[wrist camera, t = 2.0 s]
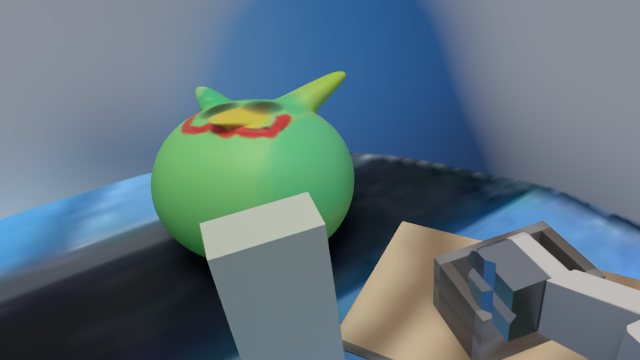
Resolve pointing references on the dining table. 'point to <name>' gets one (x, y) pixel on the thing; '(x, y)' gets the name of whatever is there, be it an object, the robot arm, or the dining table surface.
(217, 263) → the tall grey rectangular block
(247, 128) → the toy bird
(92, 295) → the dining table surface
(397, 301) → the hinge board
